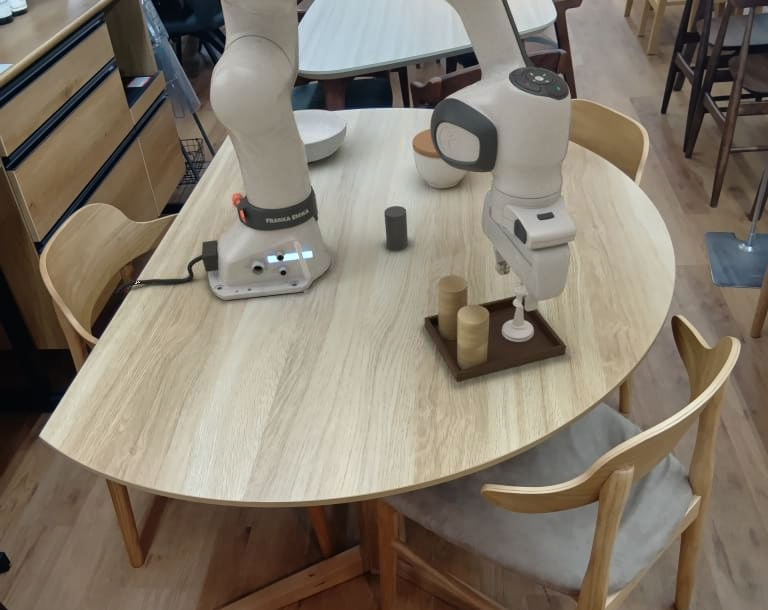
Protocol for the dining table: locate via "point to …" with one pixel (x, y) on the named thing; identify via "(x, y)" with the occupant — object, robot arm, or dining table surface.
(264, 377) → the dining table surface
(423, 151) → the lidded bowl
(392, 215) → the grey piece left
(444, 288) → the pale piece
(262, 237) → the robot arm
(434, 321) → the tray
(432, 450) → the dining table surface
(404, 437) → the dining table surface
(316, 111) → the serving bowl
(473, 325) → the pale piece
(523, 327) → the chess piece
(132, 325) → the dining table surface
